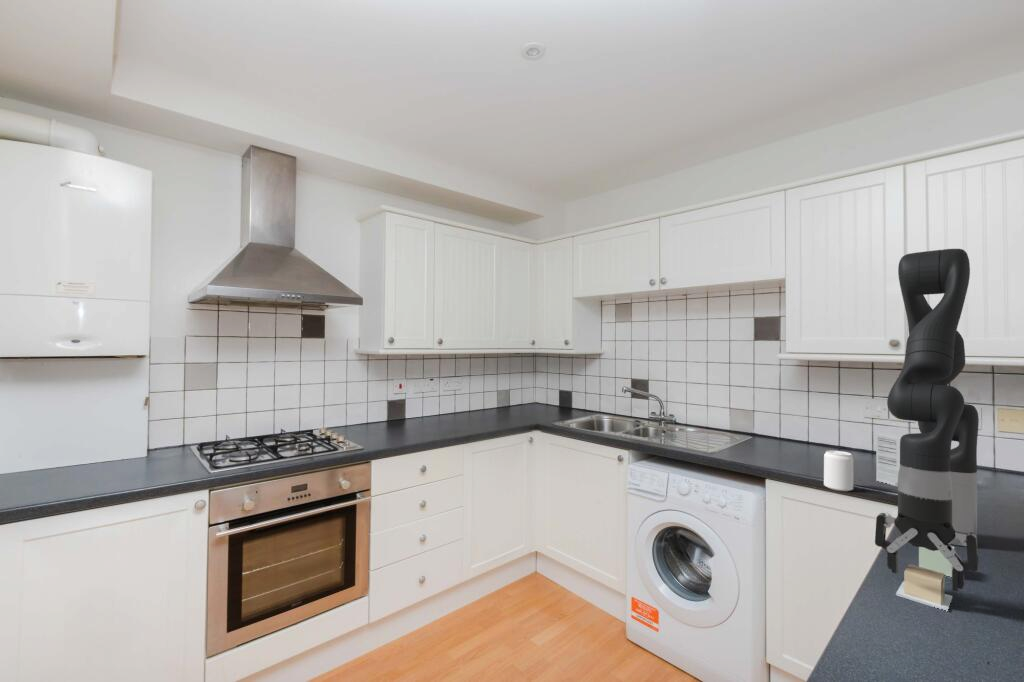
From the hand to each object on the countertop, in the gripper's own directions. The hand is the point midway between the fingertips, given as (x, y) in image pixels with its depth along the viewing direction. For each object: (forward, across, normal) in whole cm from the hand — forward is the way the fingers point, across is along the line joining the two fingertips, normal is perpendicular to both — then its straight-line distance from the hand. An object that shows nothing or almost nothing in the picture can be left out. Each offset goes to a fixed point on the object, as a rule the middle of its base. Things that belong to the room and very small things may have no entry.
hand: (924, 580), depth 86 cm
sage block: (+3, 0, -17) cm, 17 cm away
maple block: (+3, 0, 0) cm, 3 cm away
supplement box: (+3, +18, -97) cm, 99 cm away
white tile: (+3, 0, 0) cm, 3 cm away
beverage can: (+3, +30, -72) cm, 78 cm away
